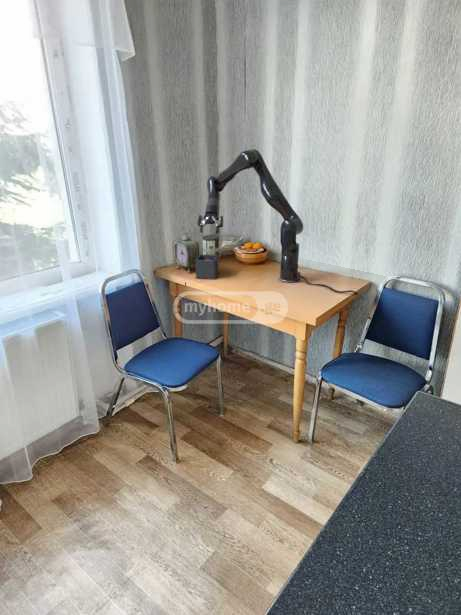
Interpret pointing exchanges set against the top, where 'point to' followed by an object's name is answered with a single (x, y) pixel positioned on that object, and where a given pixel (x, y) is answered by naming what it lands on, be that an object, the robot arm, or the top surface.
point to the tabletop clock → (185, 251)
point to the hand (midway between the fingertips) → (209, 232)
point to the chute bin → (206, 266)
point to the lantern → (211, 245)
